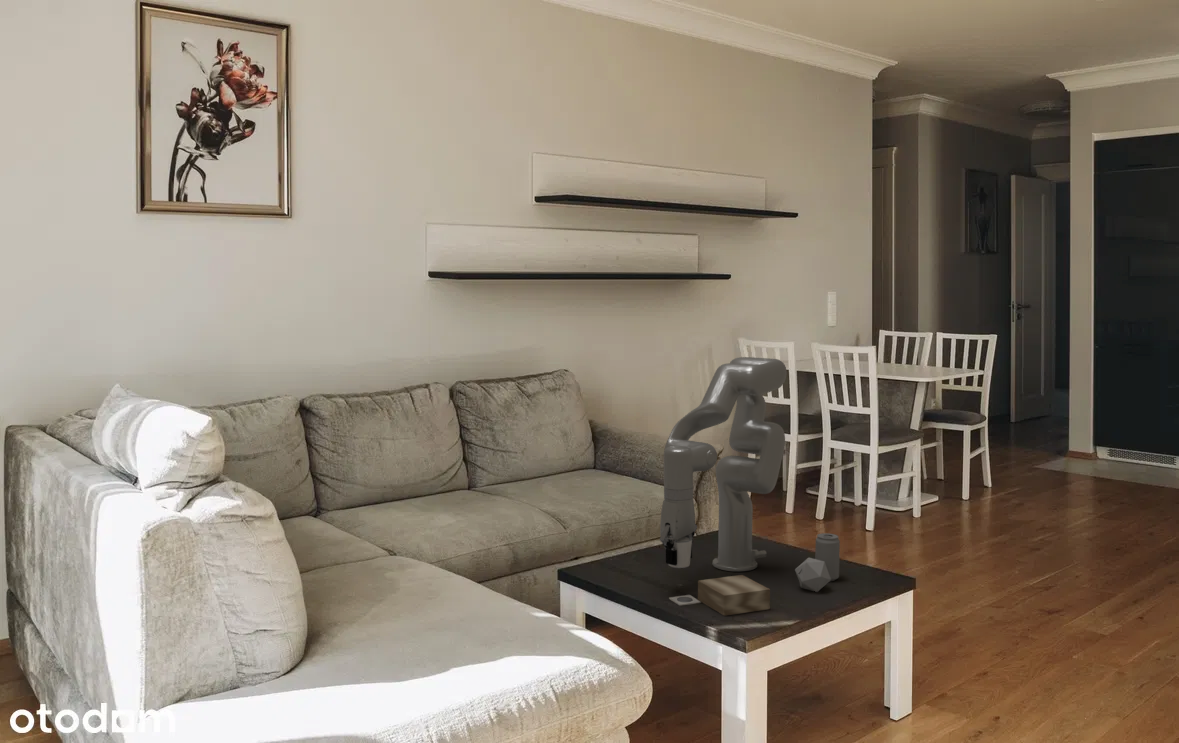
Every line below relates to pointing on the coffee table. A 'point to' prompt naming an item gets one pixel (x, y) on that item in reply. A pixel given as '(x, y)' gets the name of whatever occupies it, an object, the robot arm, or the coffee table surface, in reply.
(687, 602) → the tile
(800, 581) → the die
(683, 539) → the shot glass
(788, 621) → the coffee table surface
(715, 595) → the oak block
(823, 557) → the beverage can
